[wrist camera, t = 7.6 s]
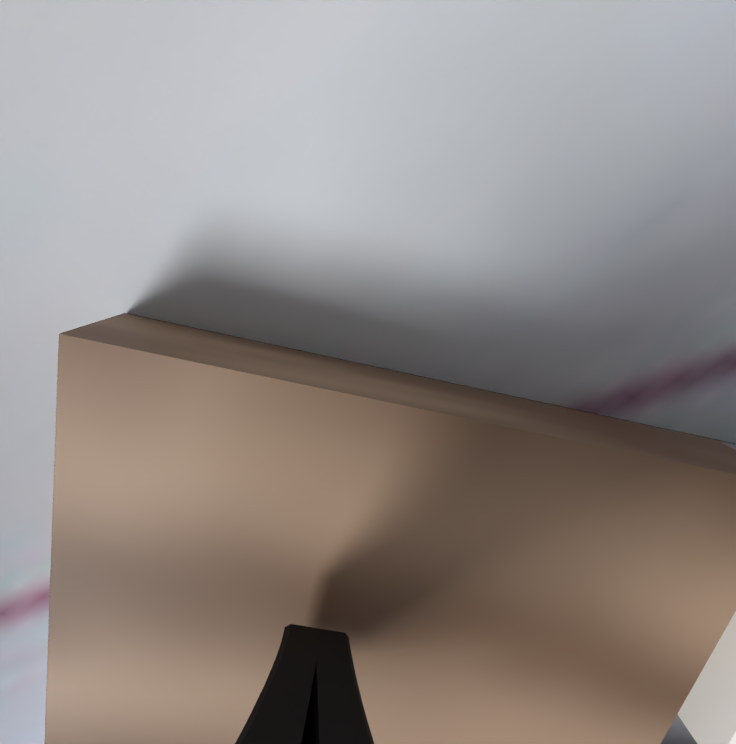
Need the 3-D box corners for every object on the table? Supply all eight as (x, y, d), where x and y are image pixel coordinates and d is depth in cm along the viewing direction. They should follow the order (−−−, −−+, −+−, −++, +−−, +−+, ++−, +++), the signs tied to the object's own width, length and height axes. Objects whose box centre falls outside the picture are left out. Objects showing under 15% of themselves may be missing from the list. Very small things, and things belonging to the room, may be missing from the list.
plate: (567, 747, 16) (605, 840, 13) (96, 679, 14) (43, 768, 12) (717, 440, 12) (804, 488, 10) (125, 313, 11) (59, 333, 8)
